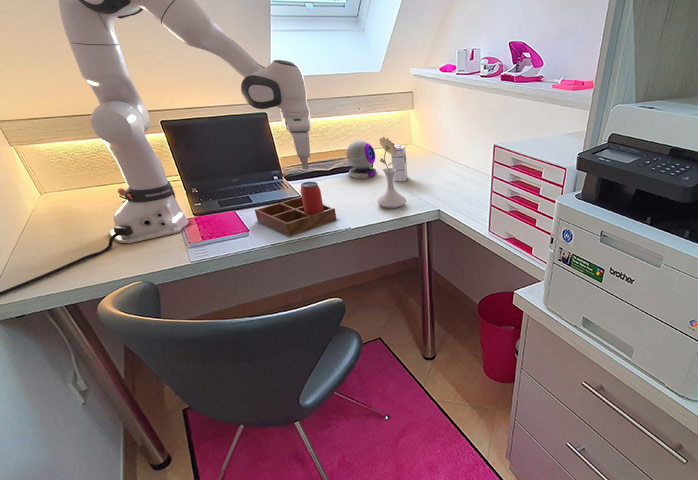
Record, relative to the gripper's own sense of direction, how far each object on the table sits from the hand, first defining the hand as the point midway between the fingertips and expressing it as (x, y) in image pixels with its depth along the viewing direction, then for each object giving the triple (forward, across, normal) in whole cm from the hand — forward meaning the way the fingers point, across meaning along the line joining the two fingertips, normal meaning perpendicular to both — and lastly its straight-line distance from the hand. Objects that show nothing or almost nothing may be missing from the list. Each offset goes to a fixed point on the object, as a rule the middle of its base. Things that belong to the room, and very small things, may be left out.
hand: (304, 165), depth 141 cm
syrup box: (+19, -38, +42) cm, 60 cm away
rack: (+20, -1, -6) cm, 20 cm away
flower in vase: (+19, -7, +30) cm, 37 cm away
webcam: (+20, -52, +28) cm, 62 cm away
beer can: (+18, 0, +1) cm, 19 cm away
